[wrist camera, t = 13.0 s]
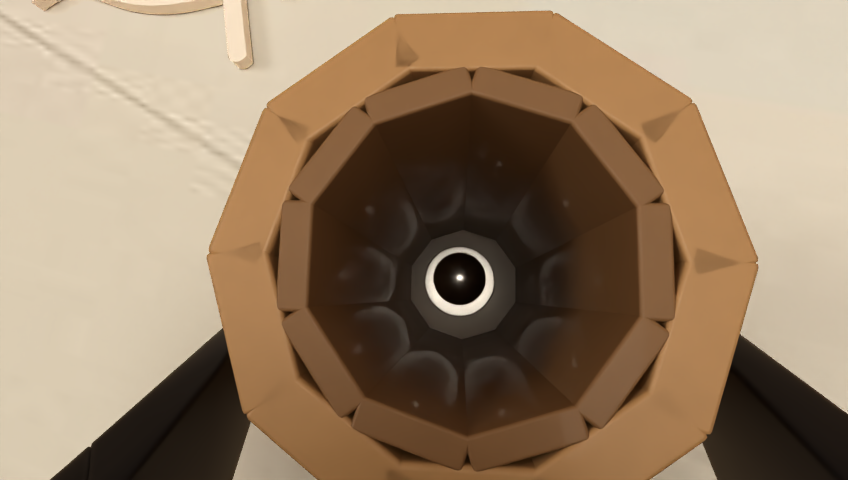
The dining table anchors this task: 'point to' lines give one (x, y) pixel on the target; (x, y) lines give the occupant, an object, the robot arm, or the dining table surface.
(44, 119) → the dining table surface
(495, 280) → the brown peg stand
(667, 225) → the tan hollow tube
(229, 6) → the white anchor emblem
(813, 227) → the dining table surface
